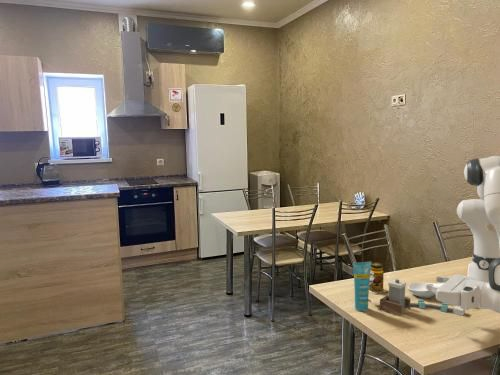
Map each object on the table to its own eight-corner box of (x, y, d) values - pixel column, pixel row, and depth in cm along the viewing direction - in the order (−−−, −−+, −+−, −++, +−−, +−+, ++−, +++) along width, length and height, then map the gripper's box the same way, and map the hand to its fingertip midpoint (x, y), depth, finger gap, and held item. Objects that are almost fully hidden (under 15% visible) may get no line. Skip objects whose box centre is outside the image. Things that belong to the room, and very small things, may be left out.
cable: (402, 302, 154) (402, 297, 154) (464, 311, 144) (465, 306, 144) (401, 306, 151) (401, 301, 150) (465, 316, 141) (465, 311, 141)
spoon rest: (403, 296, 160) (404, 280, 160) (411, 287, 170) (412, 272, 169) (467, 310, 146) (468, 292, 145) (472, 300, 155) (472, 283, 154)
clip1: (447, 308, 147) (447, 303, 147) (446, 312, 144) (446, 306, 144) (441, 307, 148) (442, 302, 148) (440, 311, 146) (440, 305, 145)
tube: (355, 312, 146) (356, 264, 144) (349, 307, 151) (350, 260, 148) (373, 310, 148) (373, 262, 145) (366, 305, 152) (367, 259, 150)
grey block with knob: (393, 305, 151) (394, 276, 150) (405, 309, 148) (406, 279, 146) (387, 309, 148) (388, 280, 147) (399, 313, 145) (400, 283, 143)
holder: (390, 302, 154) (390, 293, 154) (410, 308, 148) (410, 298, 148) (379, 309, 148) (380, 299, 148) (400, 315, 142) (400, 305, 142)
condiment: (375, 294, 163) (375, 267, 162) (362, 287, 171) (362, 262, 169) (388, 291, 166) (388, 265, 164) (374, 285, 174) (375, 259, 172)
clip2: (423, 304, 151) (423, 299, 151) (425, 308, 148) (425, 303, 148) (417, 304, 152) (417, 299, 152) (419, 308, 148) (419, 303, 148)
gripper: (483, 275, 135) (443, 266, 145) (465, 293, 121) (421, 282, 131) (483, 292, 136) (442, 282, 146) (464, 312, 122) (420, 299, 132)
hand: (432, 282), depth 138 cm, fingers open, 8 cm apart
